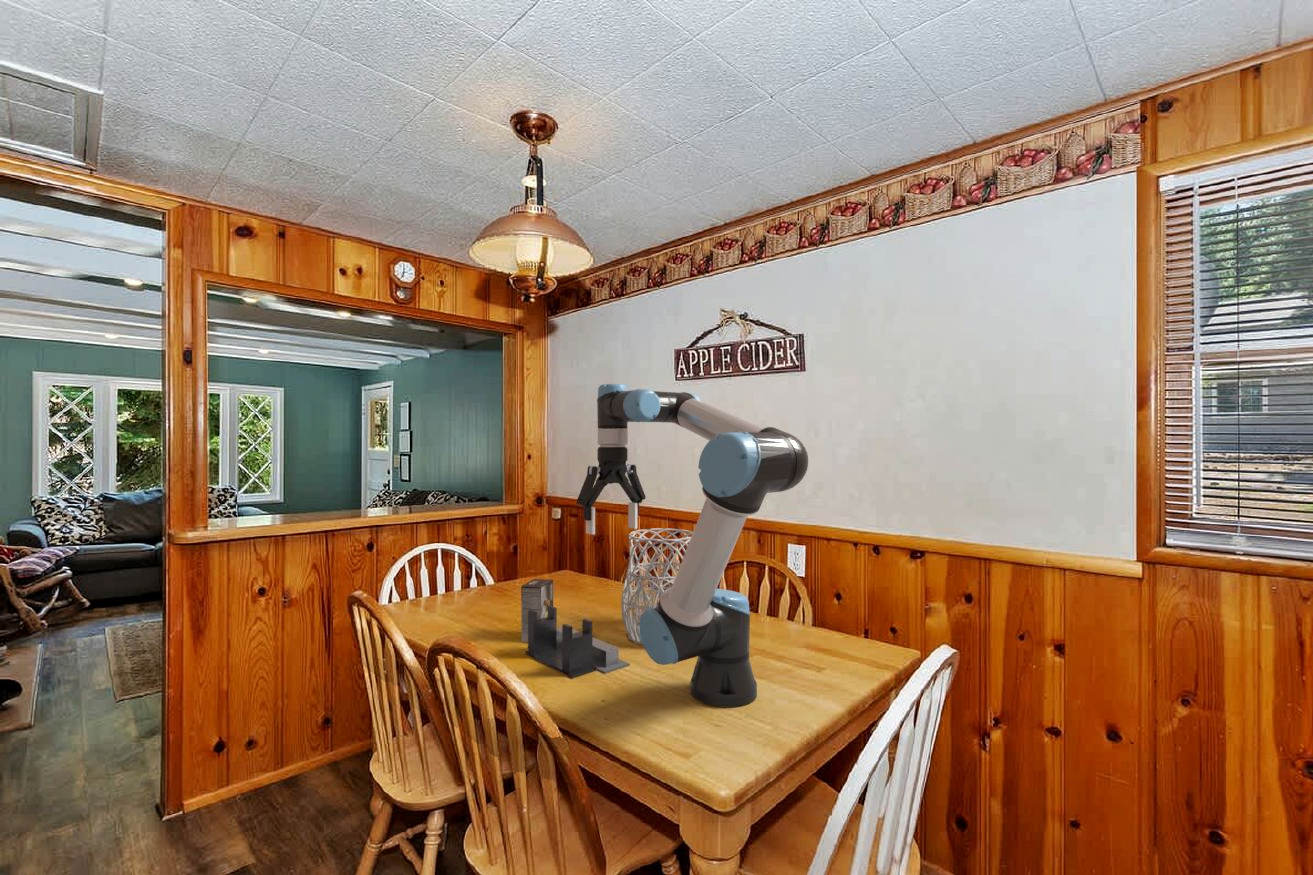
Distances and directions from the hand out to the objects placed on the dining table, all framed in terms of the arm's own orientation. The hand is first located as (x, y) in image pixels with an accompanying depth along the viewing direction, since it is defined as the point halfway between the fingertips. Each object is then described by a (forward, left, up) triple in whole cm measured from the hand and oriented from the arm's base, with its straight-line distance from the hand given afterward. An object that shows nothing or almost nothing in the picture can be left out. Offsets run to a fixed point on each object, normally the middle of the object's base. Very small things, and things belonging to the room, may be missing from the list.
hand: (612, 531), depth 151 cm
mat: (+13, -1, -35) cm, 37 cm away
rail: (+13, -1, -34) cm, 37 cm away
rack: (+13, +7, -35) cm, 38 cm away
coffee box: (+33, +1, -35) cm, 48 cm away
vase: (+10, -27, -35) cm, 45 cm away
